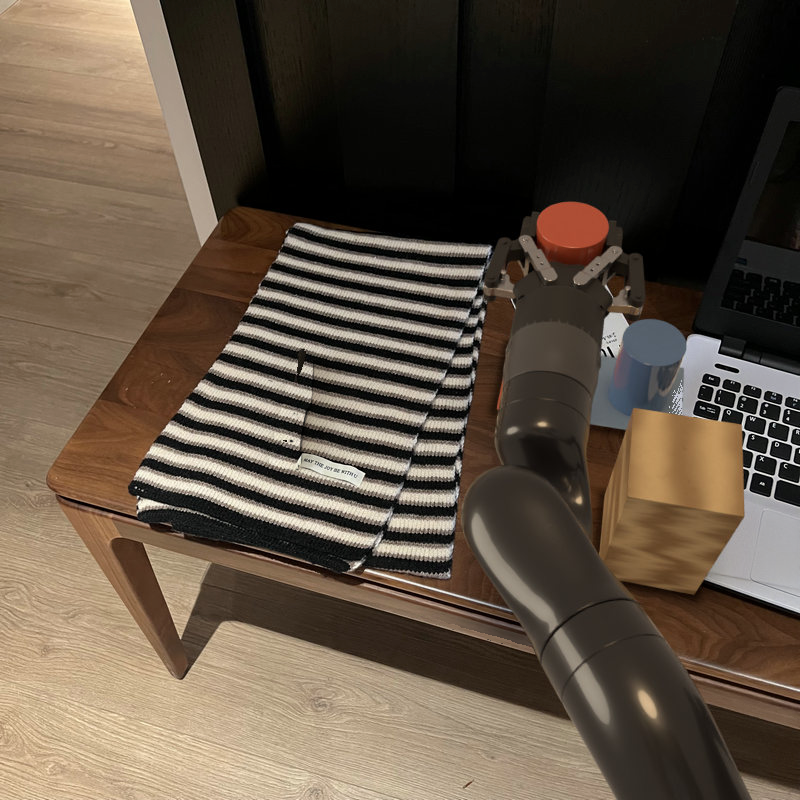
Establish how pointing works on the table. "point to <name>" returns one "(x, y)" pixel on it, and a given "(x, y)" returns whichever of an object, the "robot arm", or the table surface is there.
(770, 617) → the table surface
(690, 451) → the stand
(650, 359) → the upturned slate cup
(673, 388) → the board
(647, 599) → the table surface
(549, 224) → the orange cylinder
